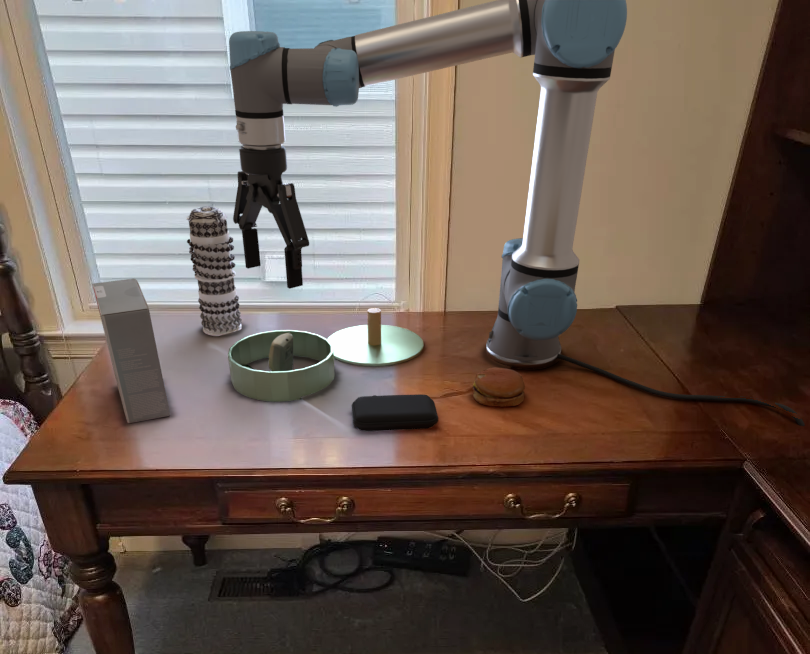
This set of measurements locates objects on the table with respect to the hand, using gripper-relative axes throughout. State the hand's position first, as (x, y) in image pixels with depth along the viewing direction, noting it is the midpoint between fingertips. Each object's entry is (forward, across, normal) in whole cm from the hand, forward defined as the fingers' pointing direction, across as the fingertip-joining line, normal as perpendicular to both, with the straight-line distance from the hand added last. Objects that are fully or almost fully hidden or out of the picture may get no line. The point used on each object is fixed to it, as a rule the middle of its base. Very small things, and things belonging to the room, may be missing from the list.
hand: (273, 276), depth 134 cm
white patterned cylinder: (+20, -29, +4) cm, 36 cm away
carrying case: (+20, +26, +6) cm, 33 cm away
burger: (+20, +32, +26) cm, 46 cm away
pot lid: (+19, 0, +23) cm, 30 cm away
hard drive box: (+20, -8, -25) cm, 33 cm away
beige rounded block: (+20, 0, 0) cm, 20 cm away
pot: (+20, 0, 0) cm, 20 cm away
